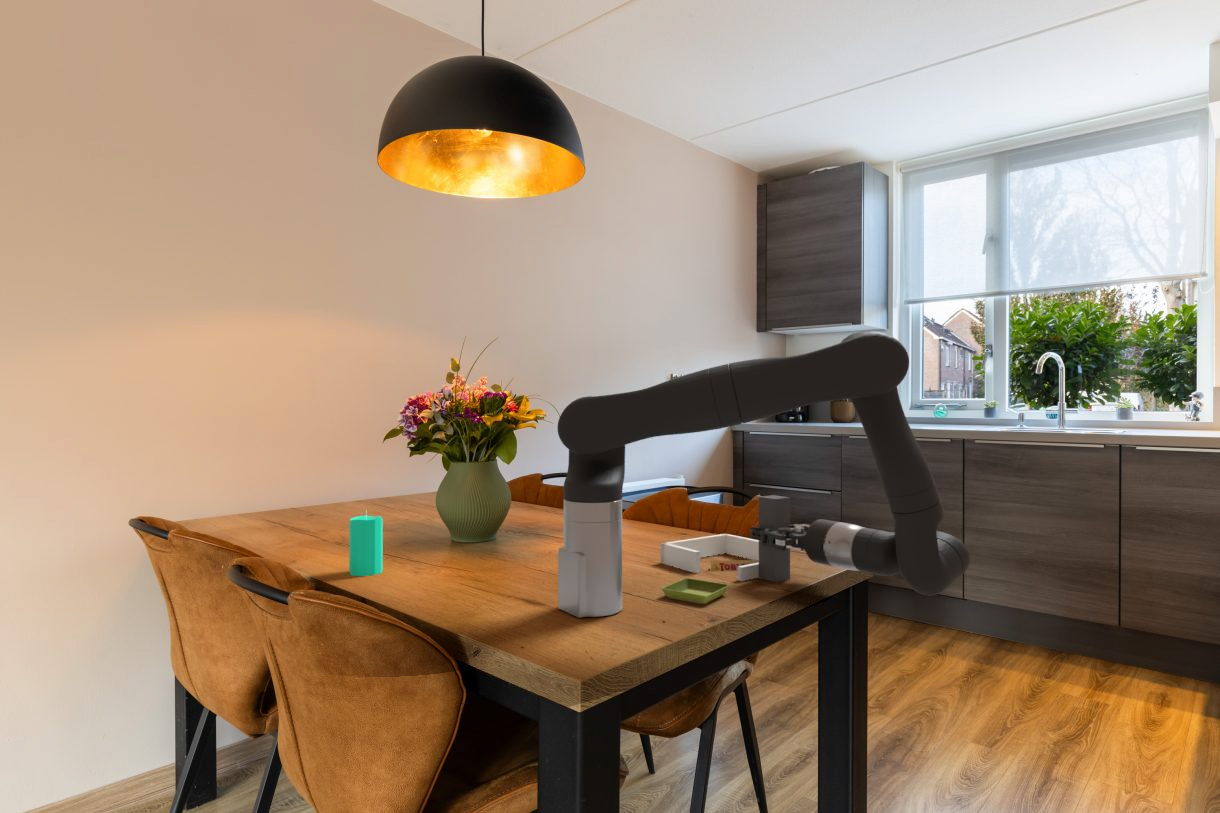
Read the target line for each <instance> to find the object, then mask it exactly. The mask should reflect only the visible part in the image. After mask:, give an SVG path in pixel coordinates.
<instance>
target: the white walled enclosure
mask: <svg viewBox="0 0 1220 813" xmlns="http://www.w3.org/2000/svg"><path fill="white" fill-rule="evenodd" d="M723 553H727V554H726V555H730V554H731V556H734V555H735V556H734V557H738V556H739V558H742V557H743V558H744V559H746V558H747V559H746V560H759V540H756V539H752V538H749V537H744V536H739V535H735V534H734V535H733V534H729V533H720V534H715V535H707V536H706V535H705V536H700V537H695V538H687V539H681V540H675V541H673V540H672V541H667V542H661V543H660V564H663V565H666V566H669V567H672V566H673V568H677V569H679V568H680V570H683V571H687V572H691V573H693V574H699V573H701V559H702V557H703V558H708V557H707V556H709V557H714V556H719V555H718V554H720V555H724V554H723ZM713 555H714V556H713Z"/></svg>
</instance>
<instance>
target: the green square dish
mask: <svg viewBox="0 0 1220 813" xmlns="http://www.w3.org/2000/svg"><path fill="white" fill-rule="evenodd" d="M729 588H730V584H727V583H721V582H714V581H710V580H709V581H708V580H702V579H696V578H690V577H686V578H685V577H684V578H681V579H679V580H676V581H675V582H672V583H670V584H668V585H665V586H662V587H661V588H660V590H661V591H662V593H663V594H664V595H665V596H666V597H667V598H668V599H672V600H678V601H684V602H689V603H693V604H699V605H706V604H708V603H710V602H712V601H714V600H716V599H718V598H721V597H722V596H723V595H724V594H725V593H726V592H727V590H729Z"/></svg>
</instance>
